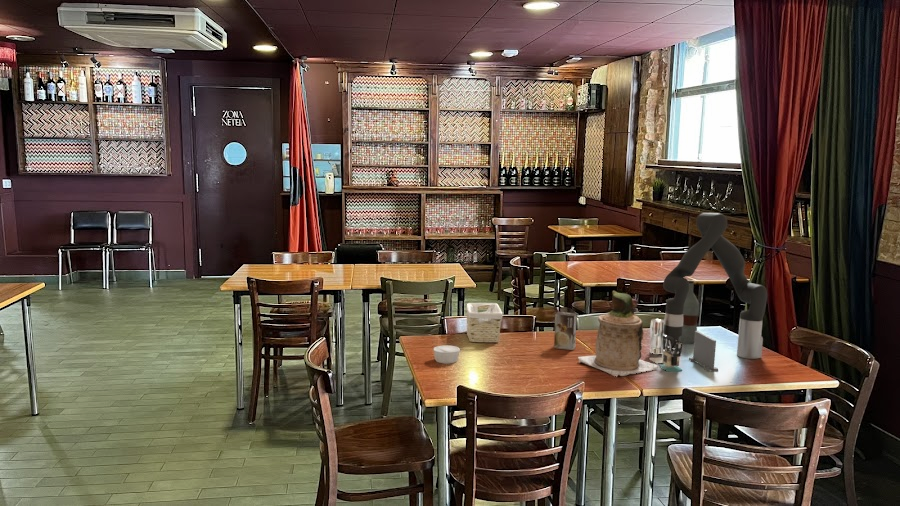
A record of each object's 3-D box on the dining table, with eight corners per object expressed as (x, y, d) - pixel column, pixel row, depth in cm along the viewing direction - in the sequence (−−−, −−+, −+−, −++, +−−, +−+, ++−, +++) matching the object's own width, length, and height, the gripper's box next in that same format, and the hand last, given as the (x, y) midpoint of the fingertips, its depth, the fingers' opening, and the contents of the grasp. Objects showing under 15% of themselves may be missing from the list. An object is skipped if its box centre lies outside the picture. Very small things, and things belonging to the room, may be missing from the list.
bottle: (698, 341, 327) (703, 280, 323) (694, 345, 319) (699, 283, 315) (678, 338, 332) (683, 278, 328) (674, 342, 324) (678, 281, 320)
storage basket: (465, 330, 337) (465, 301, 335) (497, 331, 338) (498, 302, 336) (467, 343, 314) (468, 312, 312) (502, 344, 314) (503, 313, 312)
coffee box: (575, 347, 312) (577, 313, 309) (573, 350, 306) (574, 316, 303) (556, 344, 315) (558, 311, 313) (553, 348, 309) (554, 313, 307)
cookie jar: (618, 378, 267) (622, 299, 263) (575, 362, 288) (579, 289, 284) (660, 369, 280) (665, 294, 276) (616, 354, 301) (620, 284, 297)
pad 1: (664, 359, 296) (664, 357, 296) (671, 363, 289) (671, 362, 289) (649, 359, 295) (649, 357, 295) (655, 364, 288) (656, 362, 288)
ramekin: (429, 362, 283) (429, 350, 282) (438, 355, 293) (439, 343, 292) (454, 366, 279) (454, 353, 278) (463, 358, 289) (463, 346, 288)
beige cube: (673, 362, 285) (674, 350, 284) (679, 366, 280) (679, 354, 279) (662, 362, 284) (662, 350, 283) (667, 366, 279) (668, 354, 278)
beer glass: (665, 355, 301) (667, 323, 299) (649, 354, 302) (651, 321, 300) (663, 351, 308) (665, 319, 306) (647, 350, 309) (650, 318, 307)
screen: (699, 359, 296) (701, 330, 294) (717, 370, 280) (720, 340, 279) (688, 359, 296) (690, 330, 294) (706, 371, 280) (709, 340, 278)
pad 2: (674, 365, 286) (674, 364, 286) (682, 371, 279) (682, 369, 279) (658, 366, 285) (658, 364, 285) (665, 371, 278) (666, 369, 278)
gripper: (690, 328, 273) (687, 368, 275) (674, 319, 287) (671, 358, 289) (672, 328, 272) (669, 368, 274) (657, 319, 286) (655, 358, 288)
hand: (670, 363), depth 282 cm, fingers closed on beige cube, 5 cm apart
